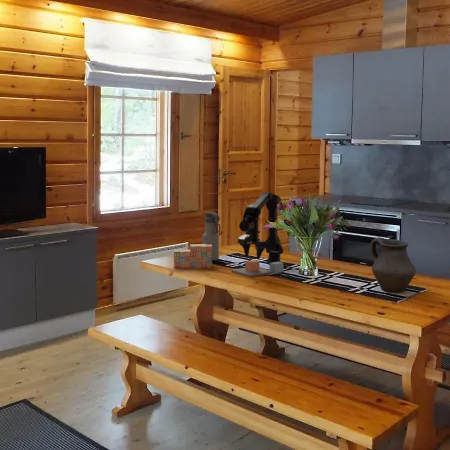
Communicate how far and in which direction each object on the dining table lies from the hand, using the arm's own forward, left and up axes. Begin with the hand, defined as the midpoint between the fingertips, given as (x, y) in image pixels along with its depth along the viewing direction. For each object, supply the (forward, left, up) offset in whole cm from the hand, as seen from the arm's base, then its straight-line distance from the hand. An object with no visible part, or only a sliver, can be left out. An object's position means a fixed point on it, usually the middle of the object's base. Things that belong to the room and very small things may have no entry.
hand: (252, 258), depth 343 cm
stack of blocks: (+16, -33, -8) cm, 37 cm away
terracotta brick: (0, 0, -7) cm, 7 cm away
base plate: (0, 0, -8) cm, 8 cm away
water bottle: (-4, -43, -8) cm, 44 cm away
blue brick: (-12, +6, -8) cm, 16 cm away
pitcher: (-29, +69, -8) cm, 75 cm away
